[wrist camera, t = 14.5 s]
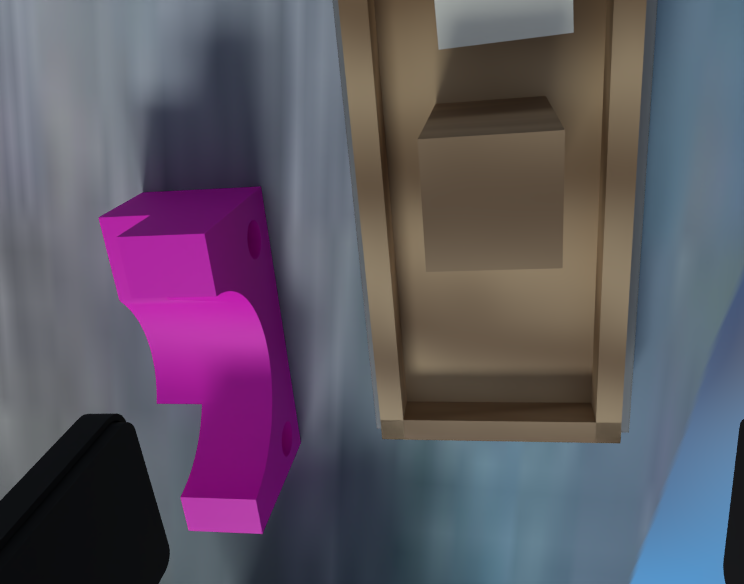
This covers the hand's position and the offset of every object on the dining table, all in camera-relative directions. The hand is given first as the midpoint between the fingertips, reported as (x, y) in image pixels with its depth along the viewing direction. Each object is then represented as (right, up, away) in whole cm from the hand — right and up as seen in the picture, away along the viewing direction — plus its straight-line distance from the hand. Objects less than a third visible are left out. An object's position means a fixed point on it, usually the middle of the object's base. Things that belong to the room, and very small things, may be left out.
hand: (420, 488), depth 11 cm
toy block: (-9, +1, +26) cm, 28 cm away
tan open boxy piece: (+4, +9, +17) cm, 20 cm away
